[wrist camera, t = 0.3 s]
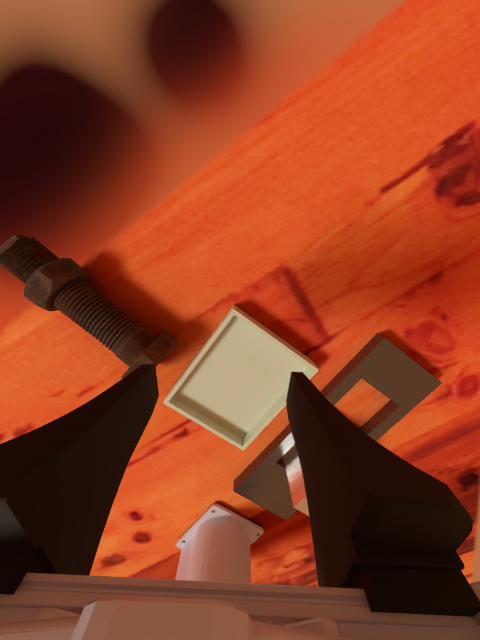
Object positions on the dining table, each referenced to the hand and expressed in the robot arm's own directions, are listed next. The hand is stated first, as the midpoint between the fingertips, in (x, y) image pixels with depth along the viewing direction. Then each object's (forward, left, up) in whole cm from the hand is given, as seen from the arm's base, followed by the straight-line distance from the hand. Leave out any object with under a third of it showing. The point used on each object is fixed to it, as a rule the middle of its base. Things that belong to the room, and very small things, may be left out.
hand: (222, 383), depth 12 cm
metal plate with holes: (-4, -16, -11) cm, 20 cm away
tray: (-4, -4, -11) cm, 12 cm away
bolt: (-5, +11, -11) cm, 16 cm away
